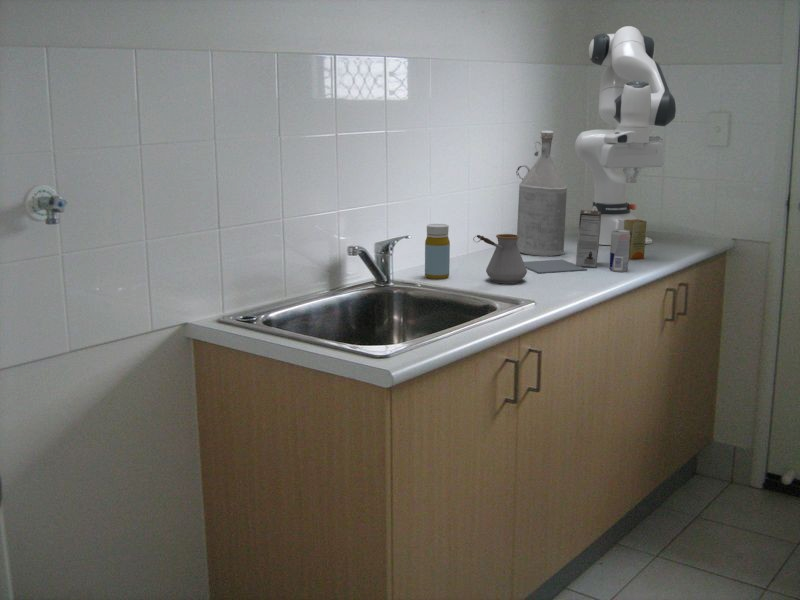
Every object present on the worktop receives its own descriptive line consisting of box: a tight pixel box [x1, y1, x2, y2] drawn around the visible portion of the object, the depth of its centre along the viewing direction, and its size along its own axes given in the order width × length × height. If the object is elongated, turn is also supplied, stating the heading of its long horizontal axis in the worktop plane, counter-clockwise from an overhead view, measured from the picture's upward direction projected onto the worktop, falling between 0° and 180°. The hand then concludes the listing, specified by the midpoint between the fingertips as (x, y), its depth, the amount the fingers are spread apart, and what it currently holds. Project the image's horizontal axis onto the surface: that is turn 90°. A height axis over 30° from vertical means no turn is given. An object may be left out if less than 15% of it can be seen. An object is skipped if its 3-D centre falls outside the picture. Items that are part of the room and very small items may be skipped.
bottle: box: [424, 223, 451, 280], centre depth 253 cm, size 7×7×15 cm
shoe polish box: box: [624, 218, 647, 261], centre depth 283 cm, size 5×5×12 cm
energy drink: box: [608, 229, 630, 273], centre depth 263 cm, size 5×5×12 cm
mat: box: [523, 259, 588, 275], centre depth 269 cm, size 16×16×1 cm
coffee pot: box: [473, 233, 528, 284], centre depth 245 cm, size 21×12×15 cm, turn 141°
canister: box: [516, 130, 568, 257], centre depth 288 cm, size 13×17×40 cm
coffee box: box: [575, 209, 601, 268], centre depth 271 cm, size 9×6×16 cm
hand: (631, 182), depth 271 cm, fingers closed
